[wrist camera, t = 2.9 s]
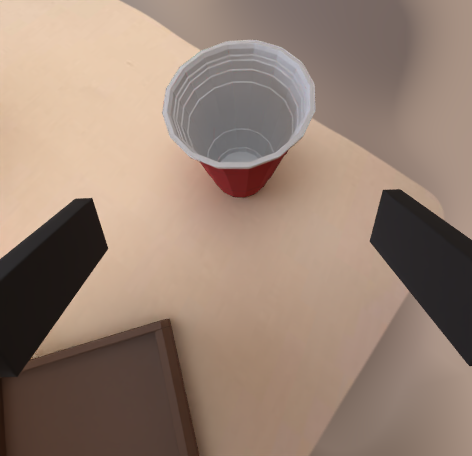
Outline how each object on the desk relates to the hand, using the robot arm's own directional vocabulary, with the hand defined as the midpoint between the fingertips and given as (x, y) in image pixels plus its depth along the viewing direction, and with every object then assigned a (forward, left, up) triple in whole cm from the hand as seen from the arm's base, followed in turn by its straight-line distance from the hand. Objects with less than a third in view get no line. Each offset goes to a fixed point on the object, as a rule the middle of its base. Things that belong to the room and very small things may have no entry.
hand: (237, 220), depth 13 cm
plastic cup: (+10, -3, -16) cm, 19 cm away
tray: (-11, +16, -15) cm, 25 cm away
